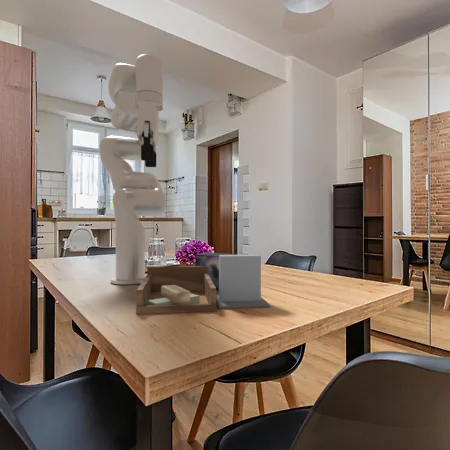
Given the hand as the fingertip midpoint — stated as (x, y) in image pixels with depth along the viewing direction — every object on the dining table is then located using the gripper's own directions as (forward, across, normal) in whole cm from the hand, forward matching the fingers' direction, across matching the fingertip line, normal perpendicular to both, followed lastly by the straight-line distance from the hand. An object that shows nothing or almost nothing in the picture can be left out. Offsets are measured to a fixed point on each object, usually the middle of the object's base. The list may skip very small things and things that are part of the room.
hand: (149, 163), depth 91 cm
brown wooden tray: (+36, +8, +8) cm, 38 cm away
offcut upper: (+34, +15, +7) cm, 38 cm away
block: (+36, +13, +23) cm, 45 cm away
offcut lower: (+37, +15, +7) cm, 40 cm away
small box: (+37, -6, +19) cm, 42 cm away
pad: (+36, +13, +24) cm, 45 cm away
